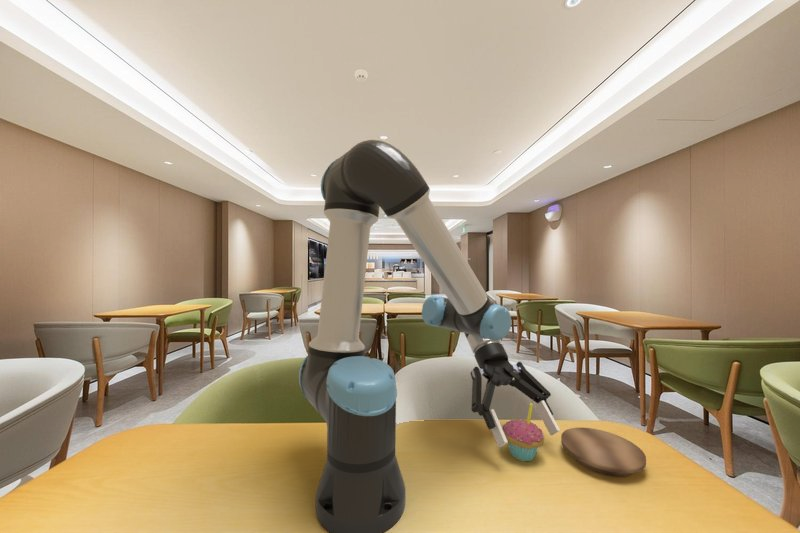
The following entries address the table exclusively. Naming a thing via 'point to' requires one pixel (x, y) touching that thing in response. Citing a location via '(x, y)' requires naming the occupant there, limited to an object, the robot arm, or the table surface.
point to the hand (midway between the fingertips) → (530, 438)
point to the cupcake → (523, 437)
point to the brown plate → (603, 452)
